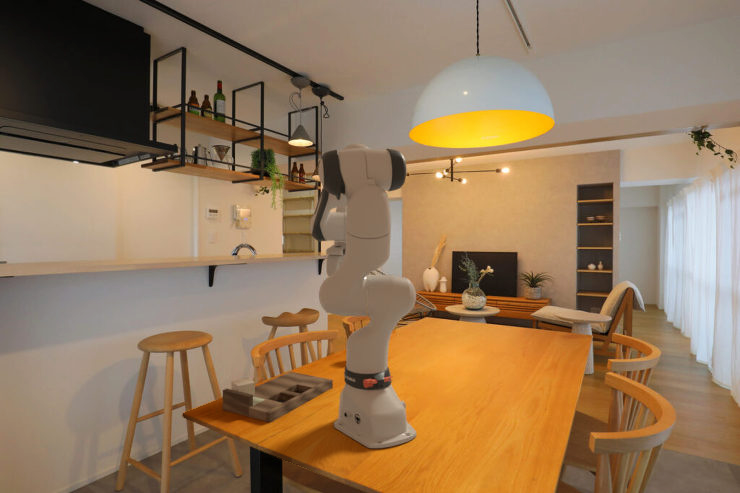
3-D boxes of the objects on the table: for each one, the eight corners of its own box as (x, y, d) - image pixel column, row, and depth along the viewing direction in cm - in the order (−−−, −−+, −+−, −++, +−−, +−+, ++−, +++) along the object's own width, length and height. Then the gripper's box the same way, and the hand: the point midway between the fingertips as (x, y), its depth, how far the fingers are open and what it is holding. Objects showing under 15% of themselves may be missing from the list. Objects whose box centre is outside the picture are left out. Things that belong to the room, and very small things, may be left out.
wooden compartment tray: (290, 378, 143) (290, 363, 143) (332, 387, 135) (332, 370, 135) (222, 409, 116) (222, 390, 116) (270, 422, 108) (270, 401, 108)
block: (247, 391, 124) (247, 377, 124) (254, 395, 120) (255, 382, 120) (231, 394, 121) (231, 381, 121) (238, 400, 117) (238, 386, 117)
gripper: (353, 249, 159) (353, 284, 159) (323, 250, 141) (322, 290, 141) (367, 249, 156) (367, 285, 156) (338, 250, 138) (338, 291, 138)
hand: (346, 288), depth 149 cm, fingers closed
